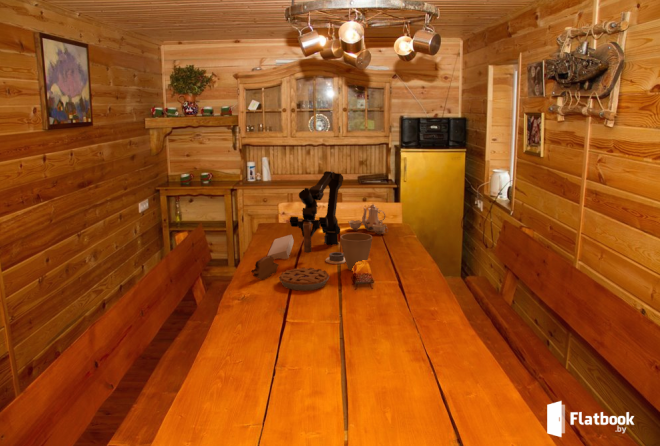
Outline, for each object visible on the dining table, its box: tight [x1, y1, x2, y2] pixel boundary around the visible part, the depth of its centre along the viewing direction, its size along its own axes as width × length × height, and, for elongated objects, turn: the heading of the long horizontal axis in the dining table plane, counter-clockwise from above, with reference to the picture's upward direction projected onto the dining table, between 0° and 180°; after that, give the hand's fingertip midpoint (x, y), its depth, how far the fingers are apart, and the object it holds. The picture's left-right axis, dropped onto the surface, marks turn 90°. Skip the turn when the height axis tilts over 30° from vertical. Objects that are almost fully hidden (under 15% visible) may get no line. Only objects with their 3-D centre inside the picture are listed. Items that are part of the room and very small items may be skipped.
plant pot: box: [339, 232, 373, 271], centre depth 264 cm, size 15×15×16 cm
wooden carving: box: [250, 256, 279, 280], centre depth 253 cm, size 16×5×10 cm, turn 150°
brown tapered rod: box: [303, 221, 312, 254], centre depth 277 cm, size 4×4×15 cm
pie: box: [278, 267, 330, 292], centre depth 246 cm, size 22×22×5 cm
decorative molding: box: [266, 234, 295, 260], centre depth 300 cm, size 34×5×10 cm
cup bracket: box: [325, 251, 346, 265], centre depth 280 cm, size 11×11×3 cm
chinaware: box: [347, 203, 389, 235], centre depth 341 cm, size 28×17×17 cm, turn 58°
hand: (307, 236), depth 276 cm, fingers closed on brown tapered rod, 4 cm apart
